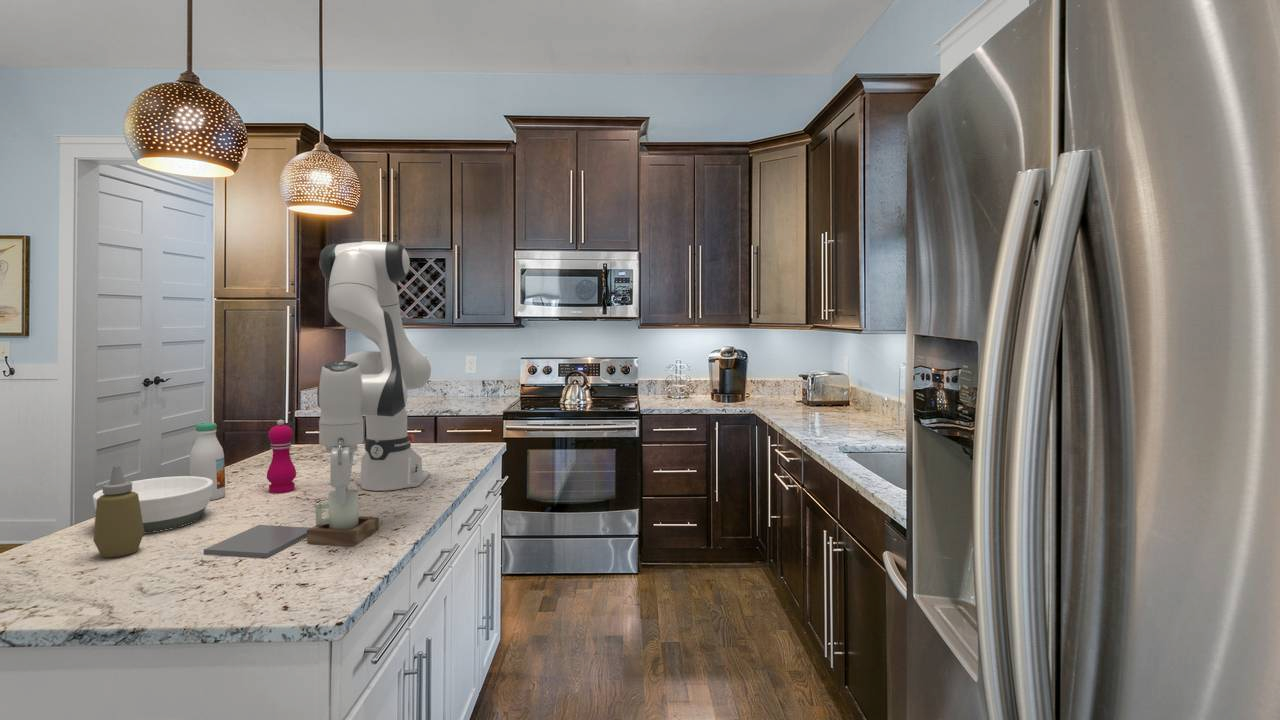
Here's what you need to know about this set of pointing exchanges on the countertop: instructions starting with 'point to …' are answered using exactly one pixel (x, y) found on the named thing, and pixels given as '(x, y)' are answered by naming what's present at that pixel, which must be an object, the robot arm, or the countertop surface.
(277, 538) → the charcoal tile
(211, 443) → the milk bottle
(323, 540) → the walnut holder
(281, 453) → the pepper mill
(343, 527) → the pale green mug
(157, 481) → the bowl
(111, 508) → the squeeze bottle
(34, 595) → the countertop surface
